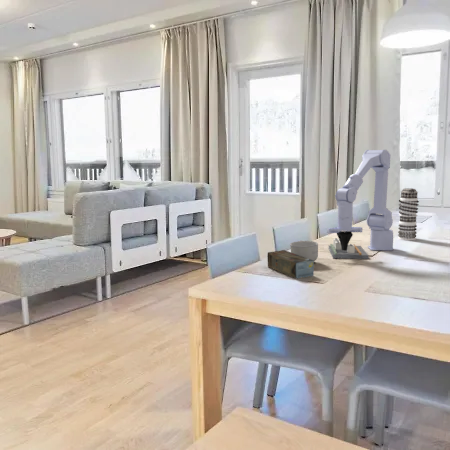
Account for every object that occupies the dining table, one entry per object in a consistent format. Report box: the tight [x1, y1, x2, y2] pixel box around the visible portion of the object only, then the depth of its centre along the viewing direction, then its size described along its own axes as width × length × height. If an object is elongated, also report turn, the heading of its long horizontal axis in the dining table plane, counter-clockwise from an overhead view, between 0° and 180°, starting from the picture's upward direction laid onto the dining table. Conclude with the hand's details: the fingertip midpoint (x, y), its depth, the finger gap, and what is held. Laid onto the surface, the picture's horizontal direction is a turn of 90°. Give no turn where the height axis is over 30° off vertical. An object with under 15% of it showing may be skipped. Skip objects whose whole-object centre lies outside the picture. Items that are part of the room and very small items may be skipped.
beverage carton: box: [267, 249, 315, 279], centre depth 168 cm, size 8×19×7 cm, turn 26°
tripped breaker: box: [347, 243, 355, 253], centre depth 190 cm, size 2×4×3 cm, turn 173°
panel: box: [327, 243, 369, 260], centre depth 197 cm, size 14×20×2 cm
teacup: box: [289, 240, 319, 262], centre depth 182 cm, size 14×11×8 cm
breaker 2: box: [335, 241, 341, 250], centre depth 197 cm, size 2×4×3 cm, turn 173°
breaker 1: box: [332, 237, 340, 247], centre depth 204 cm, size 2×4×3 cm, turn 173°
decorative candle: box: [397, 187, 420, 241], centre depth 228 cm, size 9×9×25 cm
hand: (344, 249), depth 191 cm, fingers closed
